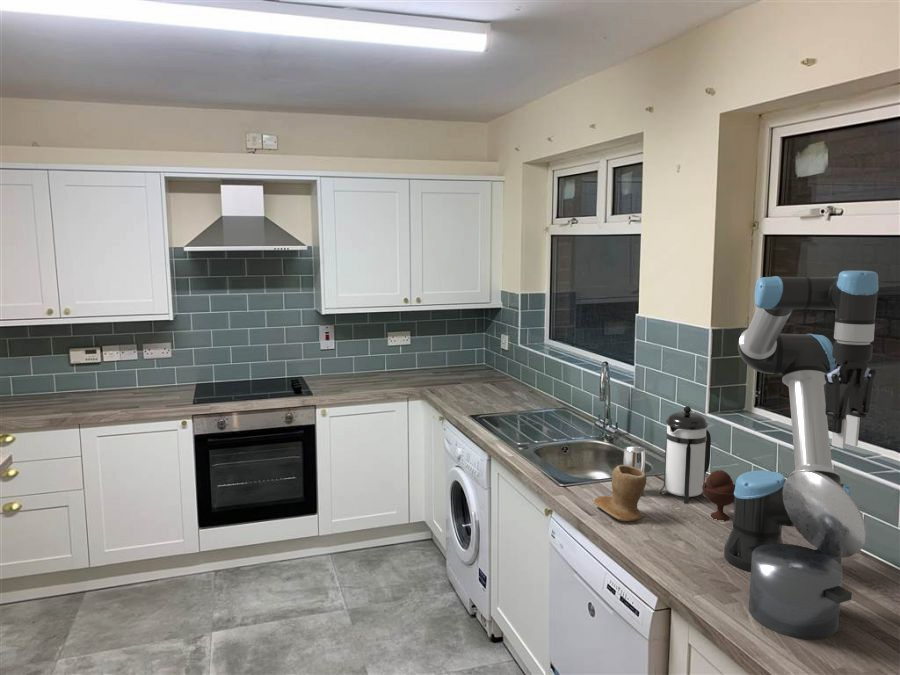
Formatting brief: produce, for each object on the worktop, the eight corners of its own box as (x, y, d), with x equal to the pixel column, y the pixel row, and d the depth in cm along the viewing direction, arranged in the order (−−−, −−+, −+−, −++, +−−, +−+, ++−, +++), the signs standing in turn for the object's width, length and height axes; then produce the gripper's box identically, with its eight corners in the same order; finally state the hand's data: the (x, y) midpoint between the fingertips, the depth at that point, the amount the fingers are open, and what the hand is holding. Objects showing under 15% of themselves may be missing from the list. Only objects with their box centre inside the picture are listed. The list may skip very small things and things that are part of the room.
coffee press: (713, 506, 216) (718, 413, 211) (660, 501, 220) (664, 410, 215) (708, 487, 232) (712, 400, 228) (659, 482, 236) (662, 398, 232)
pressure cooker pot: (783, 581, 169) (787, 531, 167) (876, 633, 147) (882, 576, 145) (721, 598, 161) (724, 546, 159) (809, 655, 139) (814, 595, 137)
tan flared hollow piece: (652, 520, 205) (654, 472, 203) (618, 526, 201) (620, 477, 199) (624, 502, 219) (625, 457, 217) (591, 507, 216) (592, 461, 213)
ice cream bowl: (743, 525, 201) (746, 476, 199) (704, 523, 203) (706, 475, 201) (734, 511, 212) (737, 464, 209) (697, 509, 213) (699, 463, 211)
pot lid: (788, 535, 164) (796, 530, 165) (866, 573, 146) (875, 567, 147) (777, 461, 159) (786, 456, 160) (857, 490, 141) (866, 484, 142)
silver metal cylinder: (630, 487, 232) (632, 444, 230) (648, 493, 227) (650, 449, 225) (618, 492, 228) (619, 448, 226) (635, 498, 223) (637, 453, 220)
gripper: (862, 337, 156) (854, 436, 159) (810, 341, 150) (803, 445, 153) (895, 341, 149) (885, 445, 152) (842, 346, 143) (833, 455, 146)
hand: (844, 445), depth 153 cm, fingers open, 3 cm apart
